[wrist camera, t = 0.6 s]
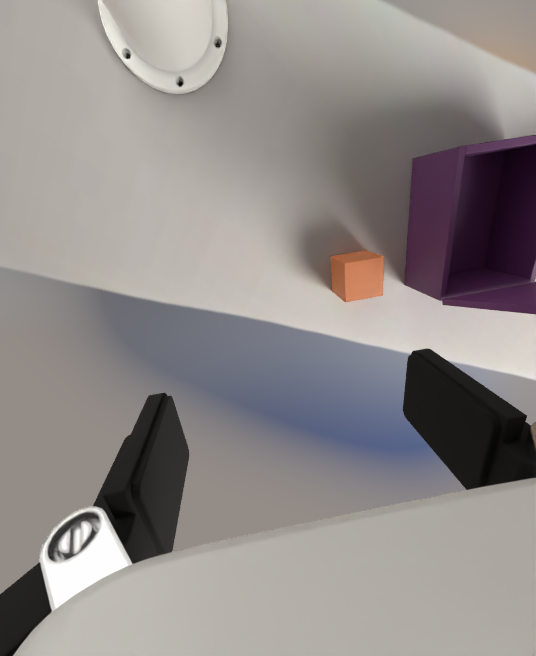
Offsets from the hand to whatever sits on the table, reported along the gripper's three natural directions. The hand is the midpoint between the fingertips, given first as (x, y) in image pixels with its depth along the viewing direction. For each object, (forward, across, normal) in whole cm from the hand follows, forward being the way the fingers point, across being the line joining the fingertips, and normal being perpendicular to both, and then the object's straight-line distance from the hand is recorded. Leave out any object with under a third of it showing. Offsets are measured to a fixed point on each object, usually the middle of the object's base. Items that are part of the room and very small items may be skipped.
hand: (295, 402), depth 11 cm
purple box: (+32, -31, -2) cm, 44 cm away
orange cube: (+32, -15, +3) cm, 35 cm away
